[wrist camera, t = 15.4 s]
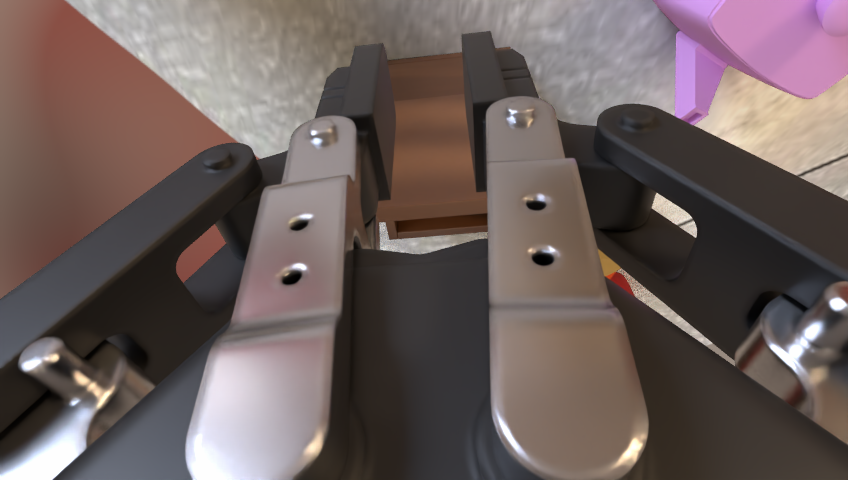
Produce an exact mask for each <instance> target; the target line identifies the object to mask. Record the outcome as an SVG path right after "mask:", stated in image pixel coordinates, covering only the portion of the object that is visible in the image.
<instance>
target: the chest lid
mask: <svg viewBox="0 0 848 480" xmlns="http://www.w3.org/2000/svg"><path fill="white" fill-rule="evenodd" d="M394 103H395V111H396V131H395V145H394V160H393V174H392V188H391V200H383V201H378V208H377V216H378V220H379V222H389V221H401V220H412V219H424V218H436V217H448V216H460V215H471V214H483V213H487V193H486V192H476V186H475V179H474V171H473V163H472V156H471V148H470V141H469V133H468V126H467V118H466V109H465V96H464V94H460V95H450V96H441V97H431V98H422V99H412V100H402V101H394Z"/></svg>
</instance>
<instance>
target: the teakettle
mask: <svg viewBox="0 0 848 480" xmlns="http://www.w3.org/2000/svg"><path fill="white" fill-rule="evenodd" d="M653 1H654V2H655V4H656V5H657V6H658V8H659V9H660V10H661V11H662V12H663V13H664V14H665V15H666V16H667V17H668V19H669V20H670V21H671V22H672V23H673V24H674V25H675V26H676V27H678V28H679V29H680V30H679V32H678V33H677V34H676V79H675V117H677V118H679V119H681V120H683V121H685V122H688V123H690V124H692V125H695V124H696V123H698V122H699V121H700V120H702V119H703V118H705V117H706V116H707V115H709V114H708V110H709V107H710V105H711V102H712V100H713V97H714V95H715V92H716V90H717V87H718V85H719V82H720V80H721V77H722V74H723V72H724V69H725V68H726V67H727V66H728V65H730V66H732V67H734V68H736V69H738V70H740V71H742V72H744V73H746V74H748V75H750V76H752V77H754V78H756V79H758V80H760V81H762V82H764V83H766V84H768V85H771V86H773V87H775V88H777V89H780V90H782V91H784V92H787V93H789V94H792V95H794V96H797V97H800V98H804V99H812V98H814V97H817V96H818V95H820V94H821V93H823V92H824V91H826V90H827V89H828V88H830V87H831V86H832V85H834V84H835V83H837V82H838V81H839V80H840V79H842V78H843V77H844V76H846V75H847V74H848V0H653Z"/></svg>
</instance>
